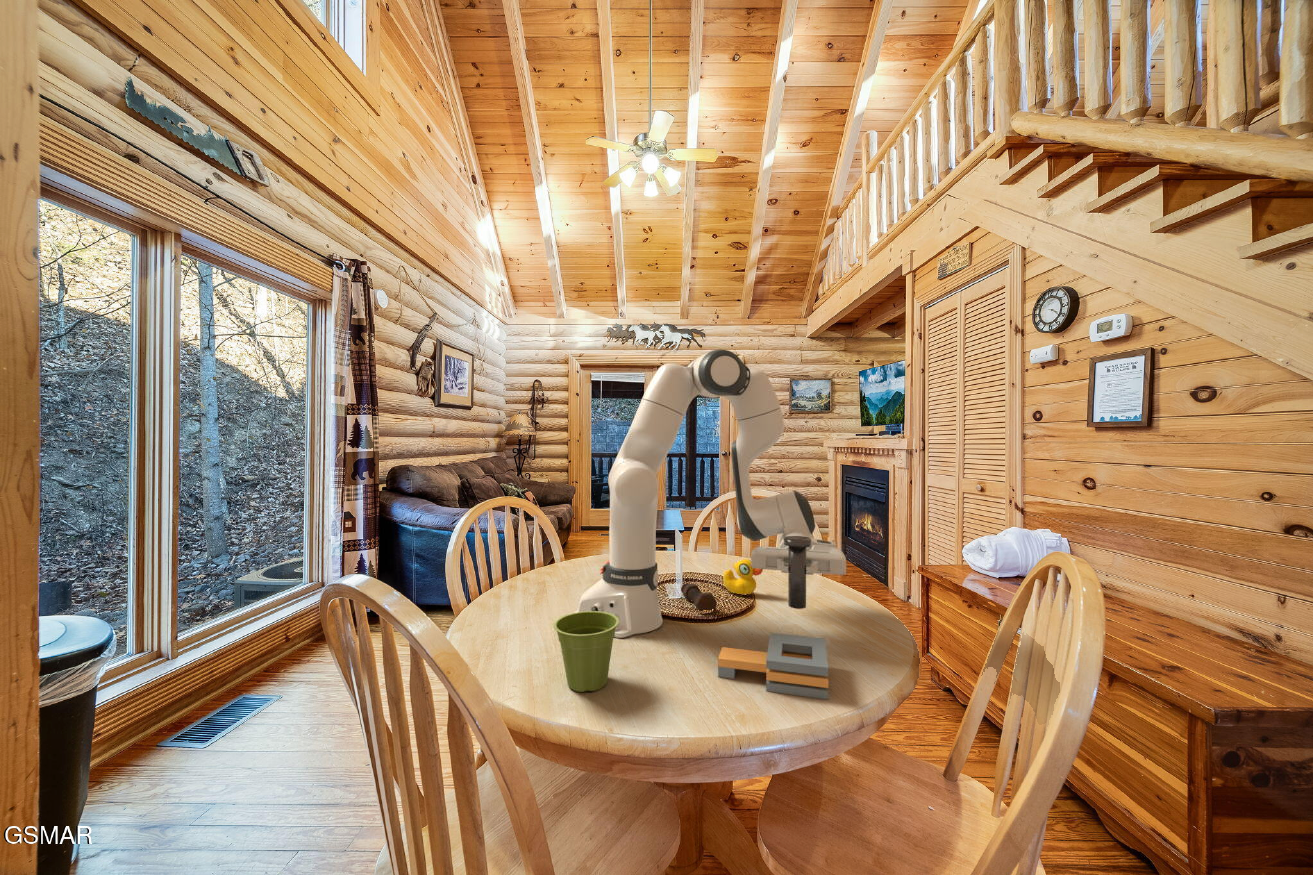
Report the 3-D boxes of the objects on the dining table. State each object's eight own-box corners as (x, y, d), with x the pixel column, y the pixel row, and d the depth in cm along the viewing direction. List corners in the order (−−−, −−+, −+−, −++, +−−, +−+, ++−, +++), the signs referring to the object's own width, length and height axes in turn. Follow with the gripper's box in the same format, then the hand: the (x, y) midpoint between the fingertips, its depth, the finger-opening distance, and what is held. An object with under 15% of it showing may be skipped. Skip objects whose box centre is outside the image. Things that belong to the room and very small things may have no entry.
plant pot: (627, 670, 96) (626, 612, 96) (607, 703, 85) (606, 637, 84) (569, 664, 99) (569, 607, 99) (543, 696, 87) (542, 631, 87)
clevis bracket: (715, 683, 91) (715, 654, 91) (725, 654, 103) (725, 627, 103) (828, 699, 85) (828, 667, 85) (825, 666, 97) (825, 638, 97)
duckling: (765, 595, 139) (765, 559, 139) (760, 601, 134) (760, 564, 134) (727, 588, 144) (727, 554, 144) (720, 594, 140) (720, 558, 139)
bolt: (688, 601, 140) (710, 619, 125) (673, 594, 138) (693, 611, 124) (697, 582, 141) (720, 597, 126) (683, 575, 139) (704, 589, 125)
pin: (783, 609, 103) (783, 540, 103) (783, 600, 109) (784, 535, 108) (811, 611, 102) (811, 542, 101) (810, 602, 107) (811, 536, 107)
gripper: (752, 537, 120) (746, 551, 107) (843, 543, 115) (848, 558, 101) (752, 563, 120) (746, 580, 107) (842, 570, 115) (848, 589, 102)
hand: (797, 569), depth 104 cm, fingers closed on pin, 4 cm apart
